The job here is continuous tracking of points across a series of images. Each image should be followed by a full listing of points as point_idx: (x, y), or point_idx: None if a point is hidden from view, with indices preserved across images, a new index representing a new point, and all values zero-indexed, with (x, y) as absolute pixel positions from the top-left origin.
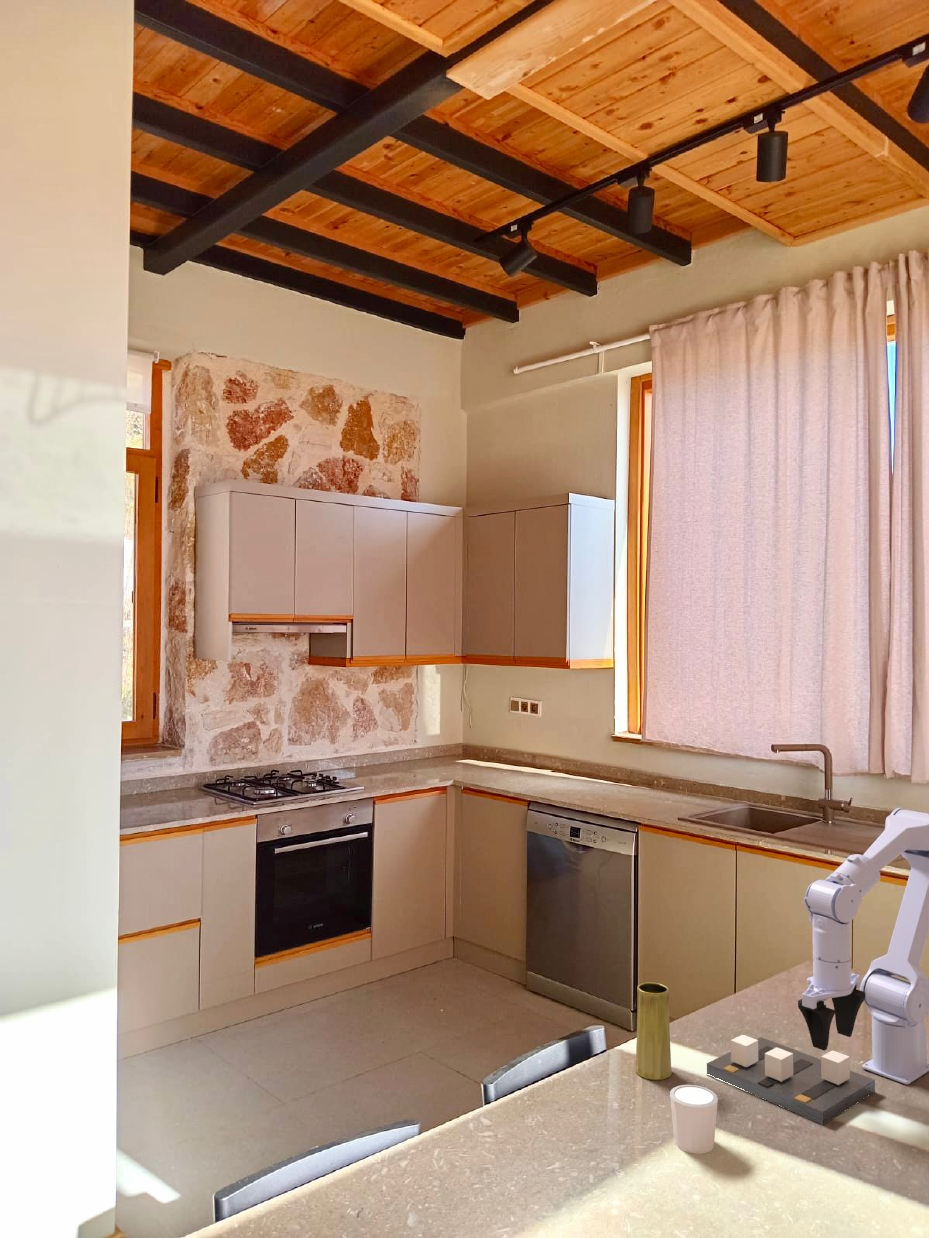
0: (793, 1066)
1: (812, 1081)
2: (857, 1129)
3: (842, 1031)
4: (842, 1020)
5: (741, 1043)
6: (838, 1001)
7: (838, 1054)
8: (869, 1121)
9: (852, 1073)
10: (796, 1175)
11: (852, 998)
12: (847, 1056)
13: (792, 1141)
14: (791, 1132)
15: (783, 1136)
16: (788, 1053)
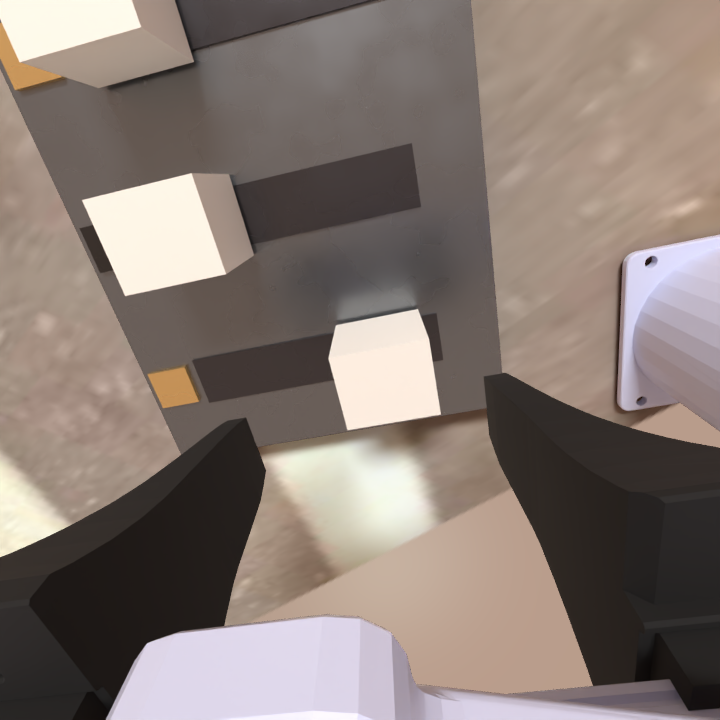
0: (320, 187)
1: (298, 314)
2: (269, 484)
3: (490, 410)
4: (514, 447)
5: (8, 8)
6: (575, 512)
7: (415, 379)
8: (330, 474)
9: (482, 340)
10: (2, 535)
11: (607, 682)
12: (433, 408)
13: (69, 451)
14: (92, 423)
15: (59, 427)
16: (204, 262)
